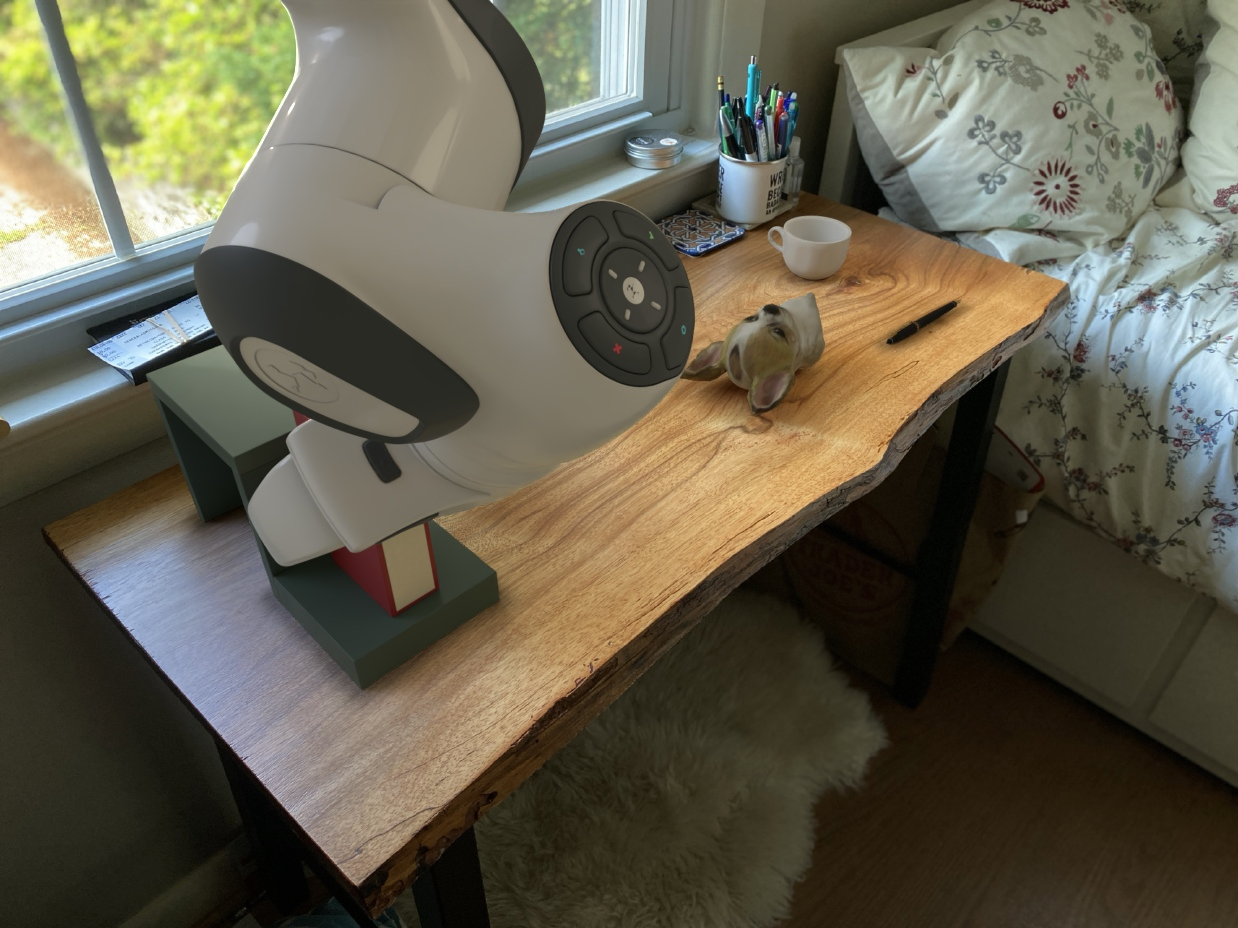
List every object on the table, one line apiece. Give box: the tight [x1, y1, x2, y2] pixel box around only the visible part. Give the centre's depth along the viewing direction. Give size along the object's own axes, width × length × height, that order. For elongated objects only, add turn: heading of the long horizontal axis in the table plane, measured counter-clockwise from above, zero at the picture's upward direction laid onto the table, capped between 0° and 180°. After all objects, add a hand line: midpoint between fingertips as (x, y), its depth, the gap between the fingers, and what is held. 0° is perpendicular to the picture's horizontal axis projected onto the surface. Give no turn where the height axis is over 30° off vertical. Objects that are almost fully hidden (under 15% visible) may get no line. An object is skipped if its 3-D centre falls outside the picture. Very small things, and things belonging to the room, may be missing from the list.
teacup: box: [767, 215, 853, 281], centre depth 111 cm, size 10×8×5 cm
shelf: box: [145, 344, 501, 691], centre depth 69 cm, size 12×25×14 cm, turn 44°
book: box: [292, 410, 439, 617], centre depth 64 cm, size 4×8×14 cm, turn 44°
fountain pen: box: [885, 298, 963, 346], centre depth 101 cm, size 14×1×2 cm, turn 132°
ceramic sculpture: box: [679, 292, 826, 416], centre depth 90 cm, size 11×9×15 cm
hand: (395, 477), depth 58 cm, fingers open, 8 cm apart
